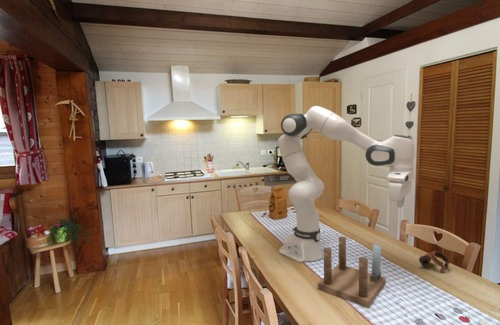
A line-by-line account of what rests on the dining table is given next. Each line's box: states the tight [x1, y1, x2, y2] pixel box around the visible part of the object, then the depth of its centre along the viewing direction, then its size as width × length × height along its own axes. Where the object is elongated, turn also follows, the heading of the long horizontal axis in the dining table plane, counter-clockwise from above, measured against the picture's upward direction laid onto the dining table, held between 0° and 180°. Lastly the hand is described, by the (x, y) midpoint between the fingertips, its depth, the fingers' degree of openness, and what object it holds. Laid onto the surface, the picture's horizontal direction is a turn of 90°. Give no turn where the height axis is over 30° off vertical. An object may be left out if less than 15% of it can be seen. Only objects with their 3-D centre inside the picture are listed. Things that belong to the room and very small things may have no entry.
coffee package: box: [268, 186, 288, 221], centre depth 202 cm, size 10×12×22 cm
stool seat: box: [317, 236, 387, 309], centre depth 112 cm, size 20×20×16 cm
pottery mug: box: [418, 250, 450, 273], centre depth 124 cm, size 12×10×8 cm
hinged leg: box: [371, 244, 382, 276], centre depth 112 cm, size 3×3×12 cm
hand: (400, 206), depth 117 cm, fingers closed
